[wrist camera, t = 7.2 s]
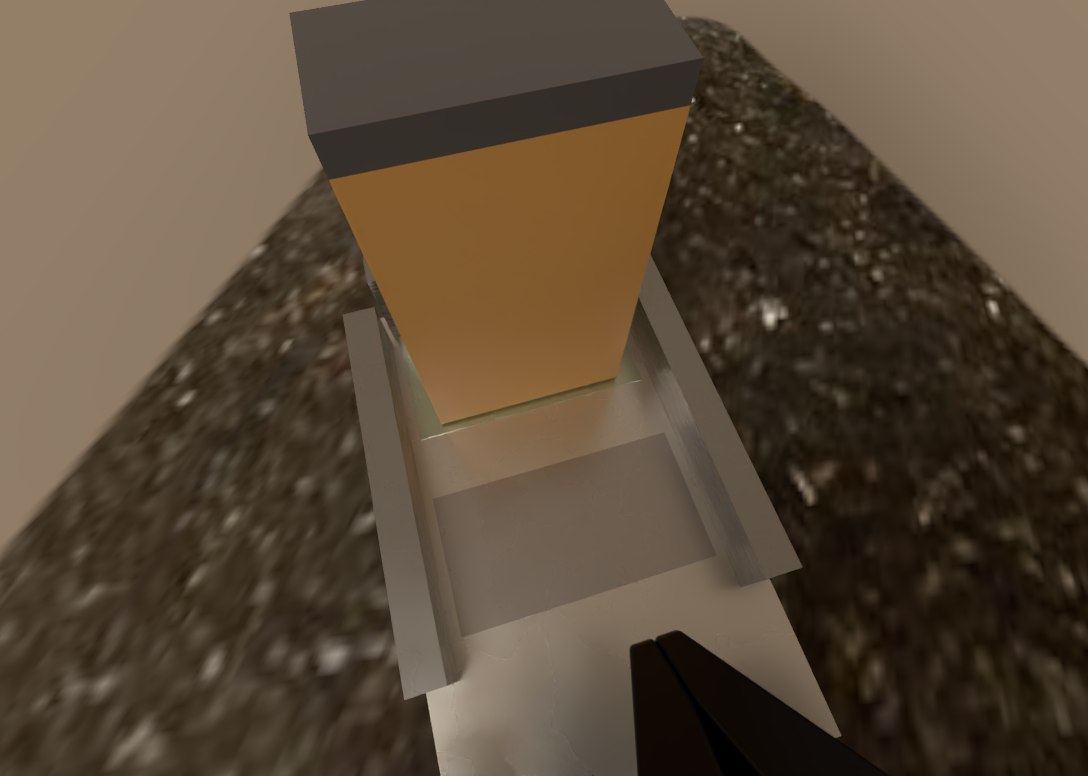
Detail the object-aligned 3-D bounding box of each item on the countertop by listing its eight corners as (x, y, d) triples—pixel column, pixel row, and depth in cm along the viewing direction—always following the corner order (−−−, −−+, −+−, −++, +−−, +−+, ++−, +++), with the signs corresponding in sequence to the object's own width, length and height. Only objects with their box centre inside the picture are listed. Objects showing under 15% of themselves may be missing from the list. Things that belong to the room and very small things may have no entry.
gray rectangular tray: (829, 729, 14) (918, 755, 11) (459, 870, 13) (430, 948, 10) (621, 268, 21) (636, 195, 18) (363, 331, 20) (326, 265, 16)
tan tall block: (616, 376, 18) (703, 57, 8) (441, 424, 17) (307, 135, 7) (588, 305, 19) (633, -45, 9) (423, 347, 18) (289, 13, 9)
